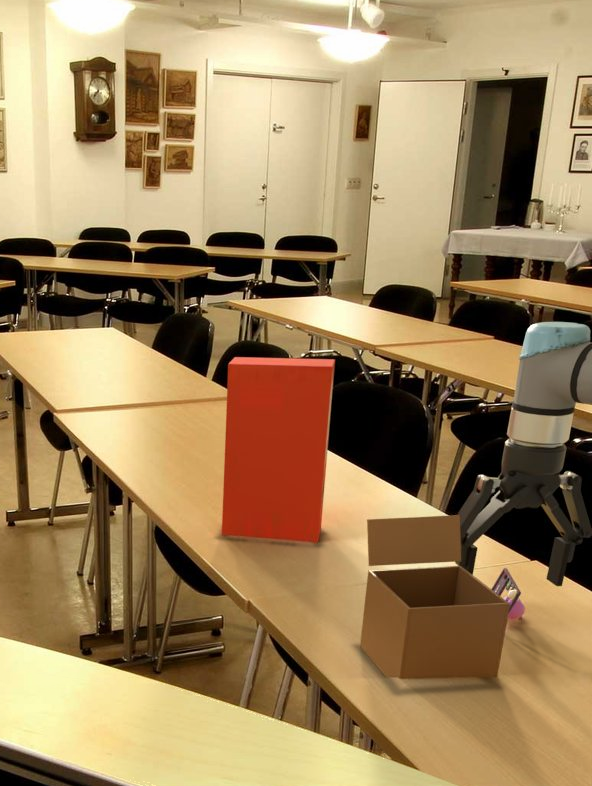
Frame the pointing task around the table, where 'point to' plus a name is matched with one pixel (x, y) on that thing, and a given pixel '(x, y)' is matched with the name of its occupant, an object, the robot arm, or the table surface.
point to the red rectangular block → (276, 447)
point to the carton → (432, 623)
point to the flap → (414, 540)
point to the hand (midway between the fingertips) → (508, 584)
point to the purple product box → (509, 594)
